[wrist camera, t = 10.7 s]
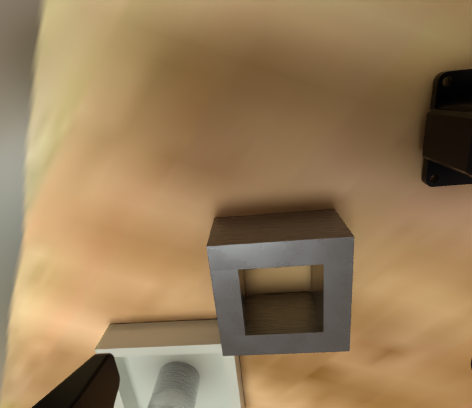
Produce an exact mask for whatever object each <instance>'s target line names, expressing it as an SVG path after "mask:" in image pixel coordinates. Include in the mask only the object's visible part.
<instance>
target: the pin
mask: <svg viewBox="0 0 472 408" xmlns="http://www.w3.org/2000/svg"><path fill="white" fill-rule="evenodd" d="M199 383H200V375H199V373H198V371H197V370H196V369H195V368H194V367H193V366H192V365H190V364H188V363H185V362H180V361H174V362H169V363H167V364H165V365H164V366H162V368H161V369H160V371H159V374H158V377H157V380H156V383H155V386H154V389H153V392H152V395H151V398H150V401H149V404H148V407H147V408H195V405H196V399H197V394H198V388H199Z"/></svg>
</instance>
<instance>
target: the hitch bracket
mask: <svg viewBox="0 0 472 408" xmlns="http://www.w3.org/2000/svg"><path fill="white" fill-rule="evenodd" d="M206 247H207V253H208V260H209V267H210V273H211V280H212V287H213V294H214V300H215V307H216V314H217V320H218V327H219V334H220V341H221V347H222V354H223V356H239V355H264V354H290V353H315V352H340V351H349V350H350V326H351V302H352V277H353V253H354V236H353V234H352V233H351V231H350V230H349V229H348V227H347V226H346V224H345V223H344V222H343V220H342V219H341V217H340V216H339V215H338V213H337V212H336V210H335V209H330V210H317V211H303V212H290V213H276V214H263V215H249V216H236V217H222V218H214V221H213V225H212V229H211V232H210V236H209V239H208V243H207V246H206ZM304 265H311V292H294V293H275V294H257V295H246V289H245V280H244V270H243V269H255V268H271V267H288V266H304Z"/></svg>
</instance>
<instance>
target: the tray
mask: <svg viewBox="0 0 472 408" xmlns="http://www.w3.org/2000/svg"><path fill="white" fill-rule="evenodd" d="M95 351H96V354H98V353H111V354H112V355H113V356H114V358H115V362H116V365H117V368H118V371H119V375H120V385H119V389H118V393H117V396H116V400H115V404H114V408H147V407H148V404H149V401H150V398H151V395H152V392H153V389H154V386H155V383H156V380H157V377H158V374H159V371H160V369H161V368H162V366H164V365H165V364H167V363H169V362H174V361H180V362H185V363H188V364H190V365H192V366H193V367H194V368H195V369H196V370H197V371H198V373H199V375H200V383H199V388H198V394H197V399H196V405H195V408H245V400H244V392H243V384H242V376H241V368H240V360H239V356H223V354H222V347H221V341H220V334H219V327H218V320H217V319H211V320H190V321H170V322H149V323H129V324H110V325H109V327H108V328H107V330H106V332H105V333H104V335H103V337H102V338H101V340H100V342H99V343H98V345H97V347H96V348H95Z"/></svg>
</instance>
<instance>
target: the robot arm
mask: <svg viewBox="0 0 472 408" xmlns="http://www.w3.org/2000/svg"><path fill="white" fill-rule="evenodd" d="M445 77H447V79H448V82H447V84H446V85H445V86H444V85H443V83H442V81H443V79H444V78H445ZM423 156H424V157H425V159H424V167H423V176H422V180H423V182H424V183H425V184H427V185H429V186H431V187H436V186H449V185H462V184H472V69H466V70H456V71H447V72H442V73H440V74H438V75H437V76H436V78H435V79H434V83H433V92H432V100H431V108H430V111H429V112H428V114H427V120H426V129H425V137H424V146H423ZM432 175H435V178H434V179H433V180H432V181H430V178H431V176H432ZM471 368H472V360H471ZM119 385H120V375H119V371H118V368H117V365H116V362H115V358H114V356H113V355H112V354H111V353H98V354H95V355H94V356H92V357H91V358H90V359H89V360H88V361H86V362H85V363H84V364H83V365H82V366H80V367H79V368H78V369H77V370H76V371H74V372H73V373H72V374H71V375H70V376H69V377H67V378H66V379H65V380H64V381H63V382H61V383H60V384H59V385H58V386H57V387H56V388H54V389H53V390H52V391H51V392H50V393H48V394H47V395H46V396H45V397H44V398H43V399H41V400H40V401H39V402H38V403H37V404H35V405H34V406H33V407H32V408H114V404H115V400H116V396H117V393H118V389H119Z"/></svg>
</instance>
